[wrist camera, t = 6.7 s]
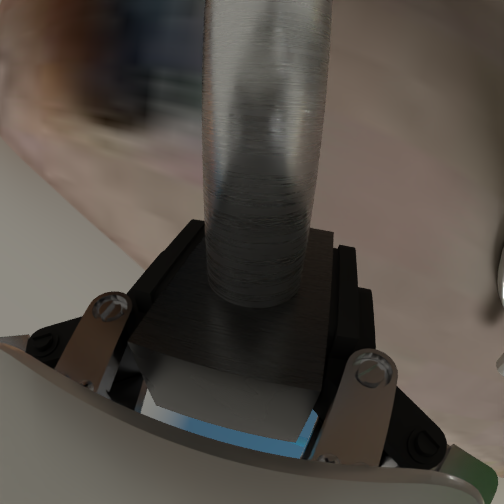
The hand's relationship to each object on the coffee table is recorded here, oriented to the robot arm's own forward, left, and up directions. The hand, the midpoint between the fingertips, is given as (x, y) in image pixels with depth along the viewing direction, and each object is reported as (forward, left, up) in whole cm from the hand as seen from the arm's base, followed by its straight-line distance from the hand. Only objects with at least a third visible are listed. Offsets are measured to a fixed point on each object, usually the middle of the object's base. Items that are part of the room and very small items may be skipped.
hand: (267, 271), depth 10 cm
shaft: (+9, 0, -1) cm, 9 cm away
